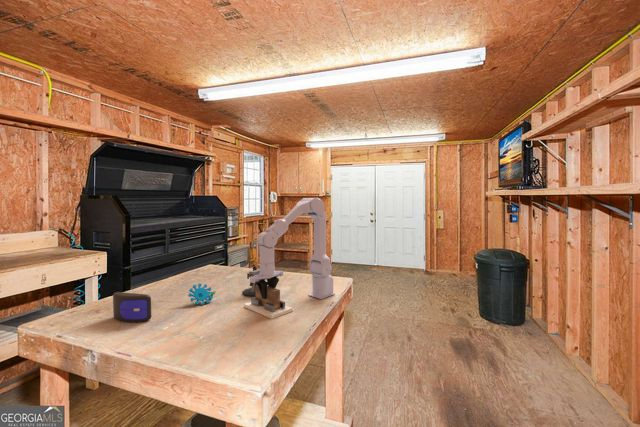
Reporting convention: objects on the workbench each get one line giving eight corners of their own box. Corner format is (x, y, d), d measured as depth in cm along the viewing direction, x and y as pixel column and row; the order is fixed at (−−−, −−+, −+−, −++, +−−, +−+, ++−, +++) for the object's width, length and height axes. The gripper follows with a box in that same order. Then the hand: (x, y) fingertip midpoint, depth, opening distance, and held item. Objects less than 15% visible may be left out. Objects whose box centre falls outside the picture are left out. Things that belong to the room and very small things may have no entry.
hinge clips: (263, 300, 121) (263, 294, 121) (285, 308, 112) (285, 301, 112) (251, 303, 117) (250, 297, 117) (272, 312, 107) (272, 306, 107)
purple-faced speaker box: (105, 320, 104) (104, 294, 104) (117, 315, 109) (116, 290, 108) (142, 325, 100) (141, 298, 100) (152, 320, 105) (152, 294, 104)
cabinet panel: (264, 300, 124) (264, 297, 124) (292, 311, 112) (292, 308, 112) (244, 306, 117) (243, 303, 117) (271, 318, 105) (271, 315, 104)
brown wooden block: (263, 300, 120) (262, 283, 120) (281, 307, 112) (281, 289, 112) (255, 302, 117) (255, 285, 117) (274, 309, 109) (274, 291, 109)
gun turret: (283, 287, 144) (282, 261, 144) (257, 299, 126) (257, 269, 126) (262, 284, 150) (261, 259, 149) (235, 295, 132) (234, 267, 131)
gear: (190, 304, 115) (188, 282, 121) (186, 312, 118) (184, 290, 124) (218, 302, 122) (214, 282, 128) (213, 309, 125) (210, 289, 131)
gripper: (275, 258, 122) (275, 291, 122) (245, 264, 111) (245, 299, 112) (286, 261, 117) (286, 294, 117) (255, 267, 106) (256, 303, 107)
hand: (267, 297), depth 114 cm, fingers closed on brown wooden block, 3 cm apart
